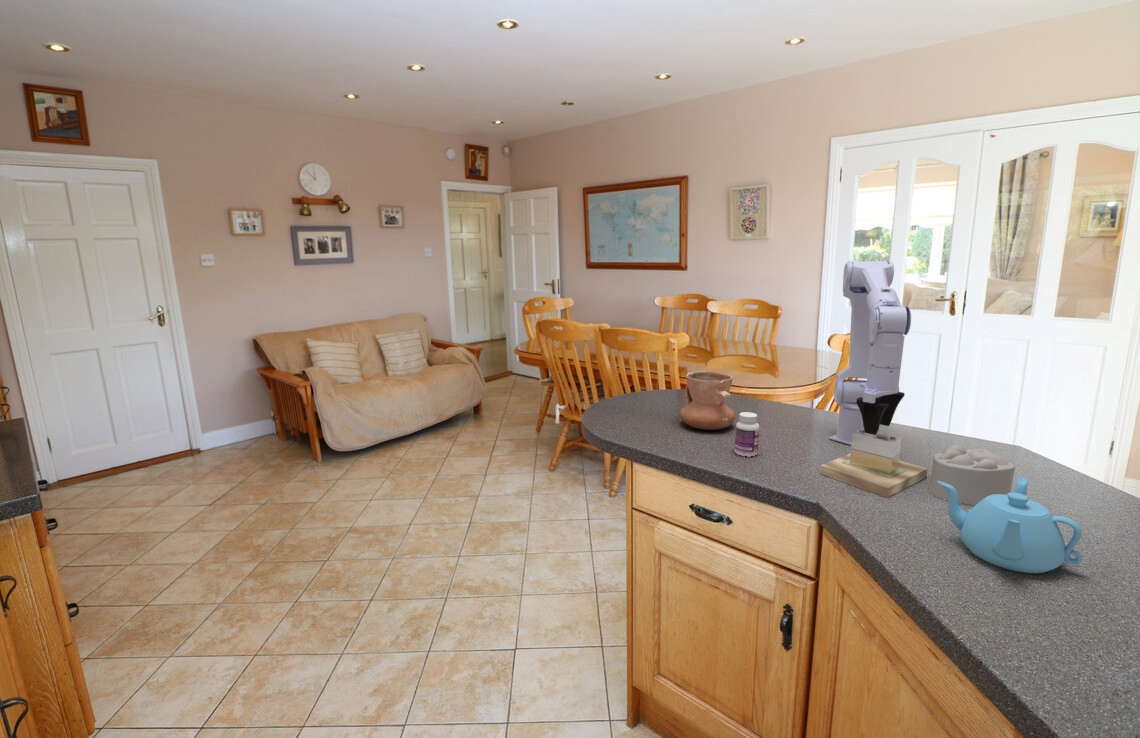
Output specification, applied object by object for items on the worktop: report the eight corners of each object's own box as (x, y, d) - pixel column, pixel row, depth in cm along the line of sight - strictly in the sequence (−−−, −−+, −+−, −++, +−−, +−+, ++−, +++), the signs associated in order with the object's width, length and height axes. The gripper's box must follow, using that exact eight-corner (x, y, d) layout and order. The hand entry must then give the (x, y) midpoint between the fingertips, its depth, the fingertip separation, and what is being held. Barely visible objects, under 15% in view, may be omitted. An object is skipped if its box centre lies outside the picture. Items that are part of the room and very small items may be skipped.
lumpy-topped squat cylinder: (1018, 503, 103) (1026, 460, 101) (954, 508, 102) (960, 464, 100) (973, 480, 113) (979, 441, 111) (914, 484, 112) (919, 444, 110)
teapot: (1097, 581, 79) (1112, 517, 77) (997, 585, 79) (1008, 520, 77) (1013, 530, 94) (1024, 474, 91) (928, 533, 93) (936, 477, 91)
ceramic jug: (749, 431, 144) (751, 379, 141) (701, 438, 139) (703, 384, 137) (709, 414, 161) (711, 366, 158) (666, 419, 156) (667, 370, 153)
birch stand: (860, 457, 126) (861, 448, 126) (926, 477, 115) (927, 467, 114) (820, 473, 117) (820, 464, 117) (886, 497, 106) (888, 487, 106)
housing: (898, 468, 114) (902, 435, 113) (890, 474, 111) (894, 441, 110) (857, 458, 120) (860, 426, 118) (849, 463, 117) (852, 431, 115)
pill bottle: (759, 458, 127) (762, 418, 124) (735, 456, 128) (737, 417, 125) (756, 449, 132) (758, 411, 130) (733, 448, 133) (735, 410, 131)
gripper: (876, 357, 119) (869, 417, 122) (849, 368, 109) (843, 432, 112) (912, 361, 113) (905, 424, 117) (888, 373, 104) (880, 441, 107)
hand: (877, 429), depth 114 cm, fingers open, 7 cm apart
